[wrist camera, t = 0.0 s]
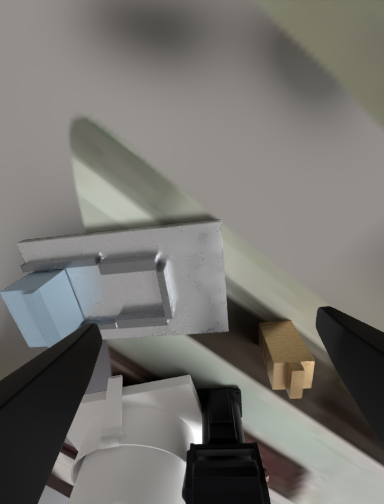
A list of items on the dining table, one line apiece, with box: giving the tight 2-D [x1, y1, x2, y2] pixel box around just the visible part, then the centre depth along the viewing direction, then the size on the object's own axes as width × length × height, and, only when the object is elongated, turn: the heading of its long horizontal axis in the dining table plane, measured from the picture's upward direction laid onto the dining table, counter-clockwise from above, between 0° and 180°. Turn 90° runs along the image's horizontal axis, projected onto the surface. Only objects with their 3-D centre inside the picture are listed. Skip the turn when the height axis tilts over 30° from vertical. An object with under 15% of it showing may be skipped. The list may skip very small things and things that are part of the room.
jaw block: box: [259, 320, 315, 399], centre depth 24 cm, size 4×4×7 cm
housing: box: [0, 270, 84, 348], centre depth 22 cm, size 7×4×5 cm, turn 7°
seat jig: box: [17, 219, 229, 340], centre depth 24 cm, size 14×22×3 cm, turn 97°
